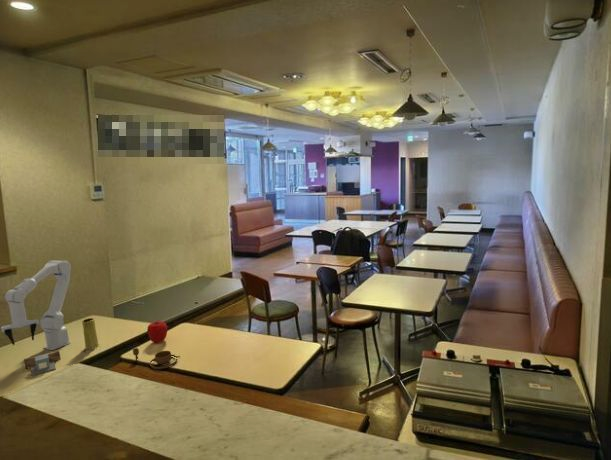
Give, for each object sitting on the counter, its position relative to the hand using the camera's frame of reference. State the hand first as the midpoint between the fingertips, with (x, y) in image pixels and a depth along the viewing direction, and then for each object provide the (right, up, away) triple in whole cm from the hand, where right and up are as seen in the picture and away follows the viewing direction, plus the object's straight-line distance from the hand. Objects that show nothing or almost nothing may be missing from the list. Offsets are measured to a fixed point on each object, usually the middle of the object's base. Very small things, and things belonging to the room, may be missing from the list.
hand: (23, 341), depth 198 cm
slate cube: (+14, -10, -8) cm, 19 cm away
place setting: (+66, -8, -6) cm, 67 cm away
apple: (+59, -4, +14) cm, 61 cm away
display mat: (+15, -10, -8) cm, 19 cm away
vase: (+26, -6, +13) cm, 30 cm away
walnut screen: (+11, -9, -2) cm, 15 cm away
